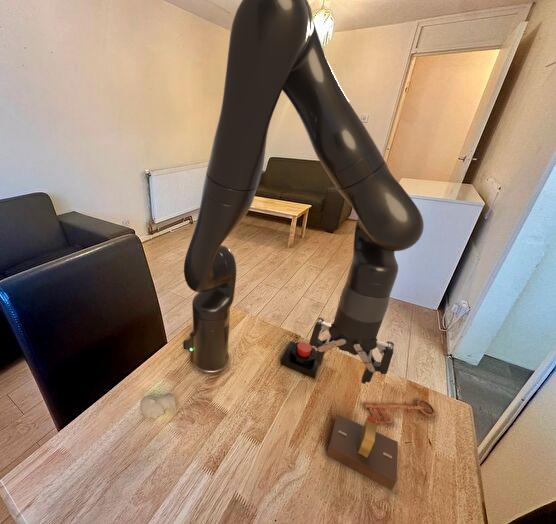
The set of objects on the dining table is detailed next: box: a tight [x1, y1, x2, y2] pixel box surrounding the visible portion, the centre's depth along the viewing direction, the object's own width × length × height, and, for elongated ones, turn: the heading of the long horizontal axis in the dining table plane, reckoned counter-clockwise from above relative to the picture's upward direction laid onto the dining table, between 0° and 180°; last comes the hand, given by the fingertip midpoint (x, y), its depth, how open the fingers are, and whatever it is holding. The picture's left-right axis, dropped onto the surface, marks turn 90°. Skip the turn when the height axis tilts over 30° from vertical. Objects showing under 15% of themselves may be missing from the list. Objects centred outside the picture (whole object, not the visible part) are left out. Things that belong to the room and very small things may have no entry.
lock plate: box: [326, 413, 399, 491], centre depth 55 cm, size 11×8×3 cm
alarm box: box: [280, 340, 321, 380], centre depth 76 cm, size 9×8×4 cm
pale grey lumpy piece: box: [139, 392, 177, 420], centre depth 63 cm, size 4×8×5 cm
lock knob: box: [358, 414, 378, 457], centre depth 53 cm, size 5×2×5 cm, turn 147°
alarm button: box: [296, 341, 312, 357], centre depth 75 cm, size 4×4×2 cm
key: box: [363, 399, 436, 424], centre depth 64 cm, size 6×1×15 cm
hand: (341, 371), depth 59 cm, fingers open, 8 cm apart
